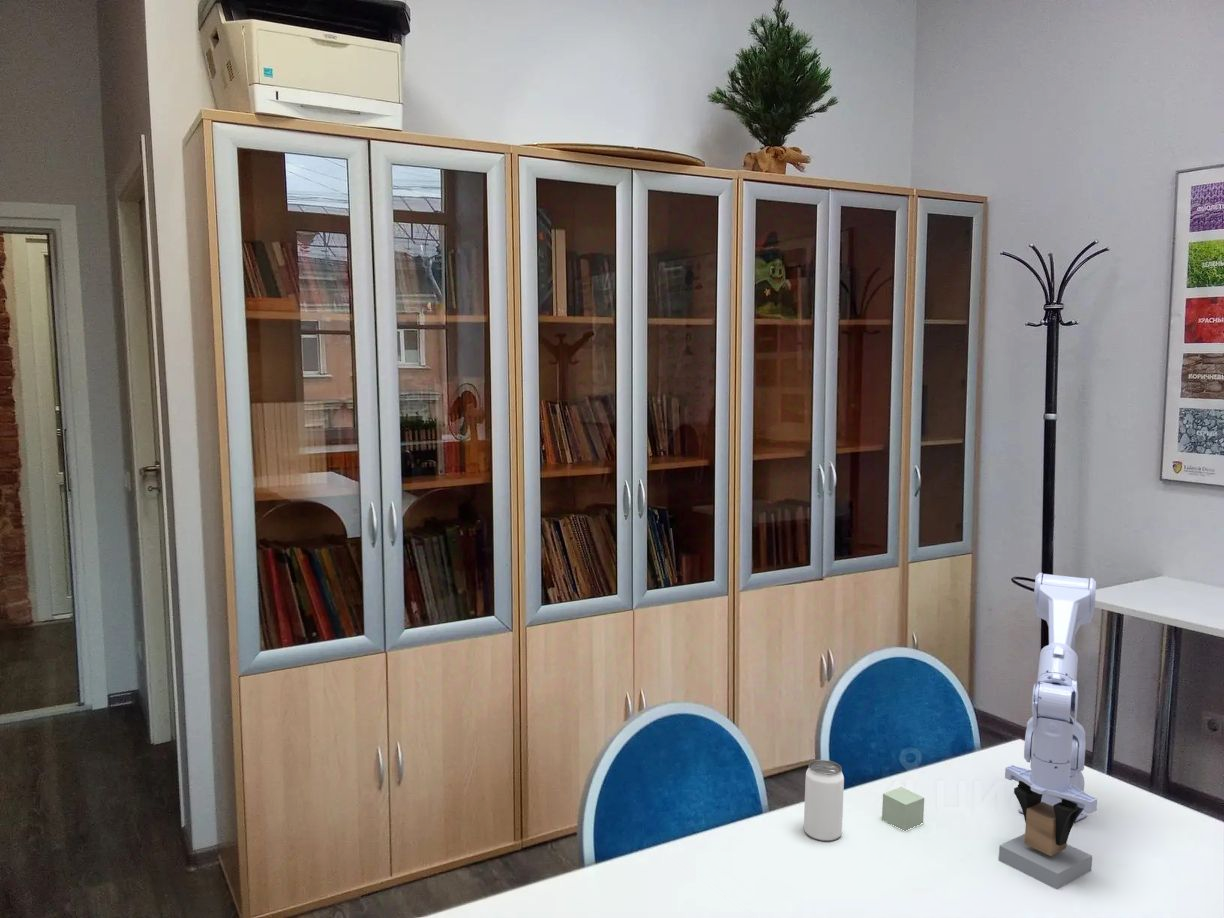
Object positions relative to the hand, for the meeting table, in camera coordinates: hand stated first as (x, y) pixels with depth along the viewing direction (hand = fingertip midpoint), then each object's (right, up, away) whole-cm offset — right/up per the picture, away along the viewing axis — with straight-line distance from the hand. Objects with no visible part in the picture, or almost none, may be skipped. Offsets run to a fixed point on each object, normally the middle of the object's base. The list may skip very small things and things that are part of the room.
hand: (1046, 836), depth 148 cm
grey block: (0, -5, +1) cm, 5 cm away
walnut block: (0, -2, 0) cm, 2 cm away
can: (-34, -4, +10) cm, 36 cm away
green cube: (-19, -3, +14) cm, 24 cm away
